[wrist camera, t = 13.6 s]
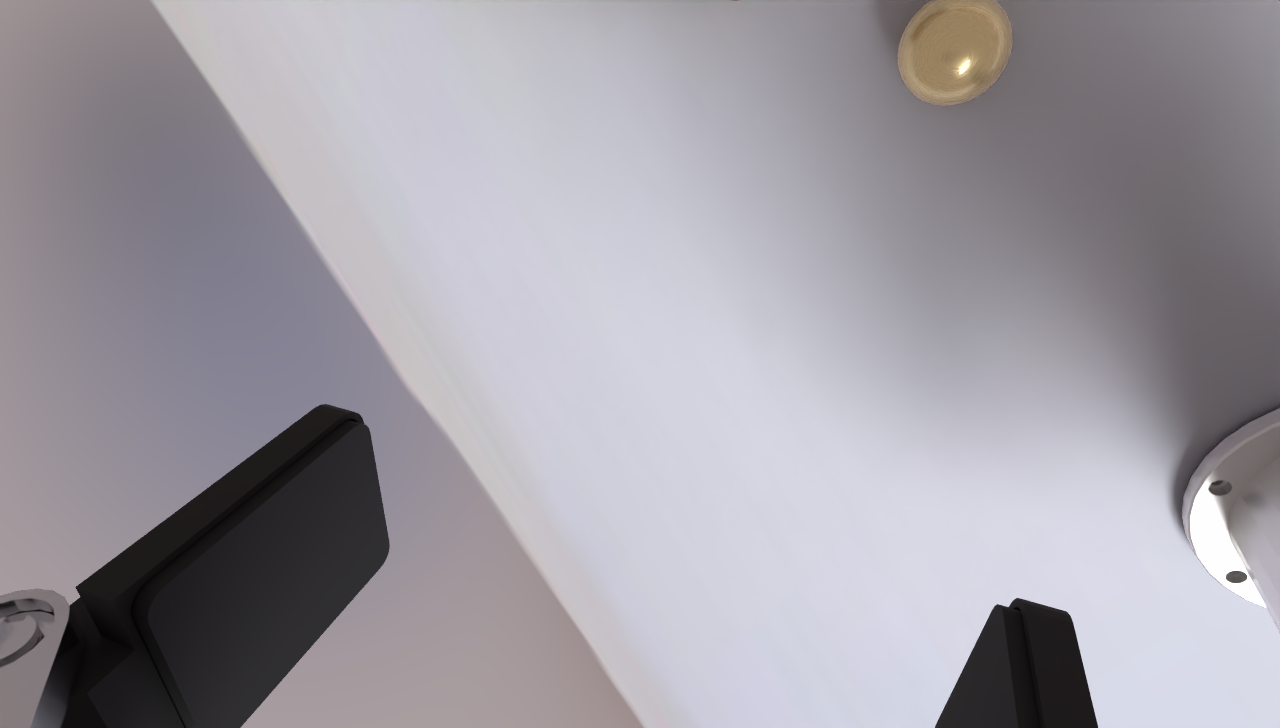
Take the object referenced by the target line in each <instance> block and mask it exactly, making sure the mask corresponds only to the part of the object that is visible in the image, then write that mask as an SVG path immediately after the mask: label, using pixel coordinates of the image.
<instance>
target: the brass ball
mask: <svg viewBox="0 0 1280 728" xmlns="http://www.w3.org/2000/svg"><path fill="white" fill-rule="evenodd" d="M1012 43H1013V33H1012V27H1011V24H1010V20H1009V18H1008V16H1007V14H1006V12H1005V11H1004V9H1003V8H1002V6H1001V5H1000V4H999V3H998V2H997V1H995V0H931V1H930V2H928V3H927V4H925V5H924V6H923V7H922V8H921V9H920V10H918V12H917V13H916V14H915V15H914V16H913V17H912V19H911V20H910V21H909V23H908V24H907V26H906V28H905V30H904V32H903V34H902V36H901V40H900V43H899V48H898V68H899V72H900V75H901V77H902V80H903V82H904V83H905V85H906V87H907V88H908V89H909V90H910V91H911V92H912V93H913V94H914V95H915V96H916V97H918V98H919V99H921V100H923V101H925V102H928V103H931V104H935V105H943V106H948V105H956V104H961V103H964V102H967V101H969V100H972V99H974V98H976V97H977V96H979V95H981V94H982V93H983V92H985V91H986V90H987V89H989V88H990V87H991V86H992V85H993V84H994V83H995V81H996V80H997V79H998V78H999V77H1000V75H1001V74H1002V72H1003V71H1004V69H1005V67H1006V65H1007V63H1008V60H1009V57H1010V54H1011V50H1012Z"/></svg>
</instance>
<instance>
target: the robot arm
mask: <svg viewBox="0 0 1280 728" xmlns="http://www.w3.org/2000/svg"><path fill="white" fill-rule="evenodd" d="M1182 520H1183V524H1184V529H1185V534H1186V536H1187V538H1188V540H1189V542H1190V545H1191V547H1192V549H1193V552H1194V554H1195V555H1196V557H1197V558H1198V560H1199V561H1200V563H1201V564H1202V565H1203V567H1204V568H1205V570H1206V571H1207V572H1208V573H1209V574H1210V575H1211V576H1212V577H1213V578H1214V579H1215V580H1216V581H1218V582H1219V583H1220V584H1221V585H1222V586H1224V587H1225V588H1227V589H1229V590H1230V591H1232V592H1234V593H1235V594H1237V595H1239V596H1240V597H1242V598H1244V599H1245V600H1248V601H1250V602H1253V603H1255V604H1258V605H1260V606H1263V607H1265V608H1267V610H1268V612H1269V613H1270V615H1271V617H1272V619H1273V621H1274V623H1275V625H1276V626H1277V628H1278V630H1279V632H1280V408H1279V409H1276V410H1274V411H1272V412H1270V413H1268V414H1266V415H1264V416H1262V417H1260V418H1257V419H1255V420H1253V421H1251V422H1249V423H1248V424H1246V425H1245V426H1243V427H1242V428H1240V429H1239V430H1237V431H1236V432H1234V433H1233V434H1231V435H1229V436H1228V437H1226V438H1225V439H1224V440H1223V441H1222V442H1220V443H1219V444H1218V445H1217V446H1216V447H1215V448H1214V449H1213V450H1212V451H1211V452H1210V453H1209V454H1208V455H1207V456H1206V457H1205V458H1204V459H1203V461H1202V462H1201V463H1200V465H1199V466H1198V468H1197V469H1196V470H1195V472H1194V473H1193V475H1192V476H1191V478H1190V481H1189V483H1188V486H1187V489H1186V491H1185V494H1184V496H1183V507H1182ZM388 552H389V538H388V532H387V526H386V521H385V515H384V509H383V503H382V498H381V492H380V486H379V480H378V475H377V470H376V463H375V457H374V452H373V446H372V441H371V434H370V431H369V428H368V427H367V426H366V425H364V422H363V419H362V417H361V416H360V415H359V414H358V413H355V412H352V411H349V410H345V409H341V408H338V407H334V406H331V405H327V404H325V405H319V406H318V407H316V408H314V409H313V410H311V411H310V412H309V413H308V414H306V415H305V416H303V417H302V418H301V419H299V420H298V421H297V422H295V423H294V424H293V425H291V426H290V427H289V428H287V429H286V430H285V431H283V432H282V433H281V434H279V435H278V436H277V437H275V438H274V439H273V440H271V441H270V442H269V443H267V444H266V445H265V446H263V447H262V448H261V449H259V450H258V451H257V452H255V453H254V454H253V455H251V456H250V457H249V458H247V459H246V460H245V461H243V462H242V463H241V464H239V465H238V466H237V467H235V468H234V469H233V470H231V471H230V472H229V473H227V474H226V475H225V476H223V477H222V478H221V479H219V480H218V481H217V482H215V483H214V484H213V485H211V486H210V487H209V488H207V489H206V490H205V491H203V492H202V493H201V494H199V495H198V496H197V497H195V498H194V499H193V500H191V501H190V502H189V503H187V504H186V505H185V506H183V507H182V508H181V509H179V510H178V511H177V512H175V513H174V514H173V515H171V516H170V517H169V518H167V519H166V520H165V521H163V522H162V523H160V524H159V525H158V526H156V527H155V528H154V529H152V530H151V531H150V532H148V533H147V534H146V535H145V536H144V537H142V538H140V539H139V540H138V541H137V542H135V543H134V544H133V545H131V546H130V547H128V548H127V549H126V550H125V551H123V552H122V553H120V554H119V555H118V556H117V557H115V558H114V559H112V560H111V561H110V562H108V563H107V564H106V565H104V566H103V567H102V568H101V569H99V570H98V571H96V572H95V573H94V574H93V575H91V576H90V577H89V578H87V579H86V580H84V581H83V582H82V583H80V584H79V585H78V586H76V589H77V591H78V593H79V595H80V598H79V599H78V600H76V601H75V602H74V603H72V604H71V605H70V606H69V604H68V603H67V601H66V599H65V597H63V596H62V595H60V594H58V593H56V592H55V591H51V590H43V589H30V590H21V591H15V592H12V593H9V594H5V595H2V596H0V728H240V727H241V726H242V725H243V724H244V723H245V722H246V721H247V719H248V718H249V717H250V716H251V715H252V714H253V713H254V711H255V710H256V709H257V708H258V707H259V706H260V705H261V703H262V702H263V701H264V700H265V699H266V698H267V697H268V695H269V694H270V693H271V692H272V691H273V689H275V687H276V686H277V685H278V684H279V683H280V682H281V681H282V679H283V678H284V677H285V676H286V675H287V674H288V672H289V671H290V670H291V669H292V668H293V667H294V666H295V665H296V663H297V662H298V661H299V660H300V659H301V658H302V656H303V655H304V654H305V653H306V652H307V651H308V650H309V649H310V647H311V646H312V645H313V644H314V643H315V642H316V641H317V639H318V638H319V637H320V636H321V635H322V634H323V633H324V631H325V630H326V629H327V628H328V627H329V626H330V625H331V624H332V622H333V621H334V620H335V619H336V618H337V617H338V616H339V614H340V613H341V612H342V611H343V610H344V609H345V608H346V606H347V605H348V604H349V603H350V602H351V601H352V600H353V598H354V597H355V596H356V595H357V594H358V593H359V591H360V590H361V589H362V588H363V587H364V586H365V585H366V584H367V582H368V581H369V580H370V579H371V578H372V577H373V576H374V574H375V573H376V572H377V571H378V570H379V569H380V567H381V566H382V565H383V564H384V562H385V560H386V558H387V555H388ZM935 728H1098V725H1097V721H1096V717H1095V712H1094V708H1093V704H1092V700H1091V696H1090V692H1089V687H1088V683H1087V679H1086V675H1085V671H1084V667H1083V662H1082V658H1081V654H1080V650H1079V646H1078V642H1077V637H1076V633H1075V629H1074V625H1073V622H1072V619H1071V616H1070V615H1069V614H1068V613H1067V612H1066V611H1063V610H1059V609H1055V608H1052V607H1048V606H1045V605H1041V604H1038V603H1034V602H1030V601H1027V600H1023V599H1019V598H1016V599H1015V600H1013V601H1012V603H1011V604H1010V606H1009V607H1005V606H1002V605H998V604H997V605H996V606H995V607H994V608H993V610H992V612H991V614H990V616H989V618H988V620H987V622H986V624H985V626H984V628H983V630H982V632H981V634H980V636H979V638H978V640H977V642H976V644H975V646H974V648H973V650H972V652H971V654H970V656H969V658H968V661H967V663H966V665H965V667H964V669H963V671H962V673H961V675H960V677H959V679H958V681H957V683H956V685H955V687H954V689H953V691H952V693H951V695H950V697H949V699H948V701H947V703H946V705H945V707H944V709H943V711H942V713H941V715H940V717H939V720H938V722H937V724H936V726H935Z"/></svg>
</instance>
